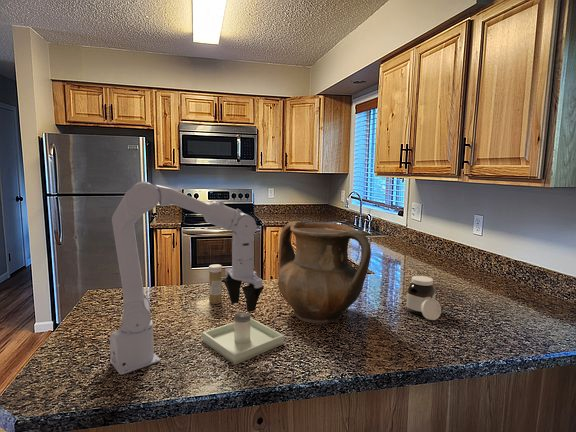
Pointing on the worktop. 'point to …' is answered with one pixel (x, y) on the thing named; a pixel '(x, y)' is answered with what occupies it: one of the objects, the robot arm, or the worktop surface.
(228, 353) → the tray
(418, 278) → the spread jar
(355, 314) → the worktop surface
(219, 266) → the sprinkles bottle
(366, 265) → the jug
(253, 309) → the robot arm
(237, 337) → the cylinder
